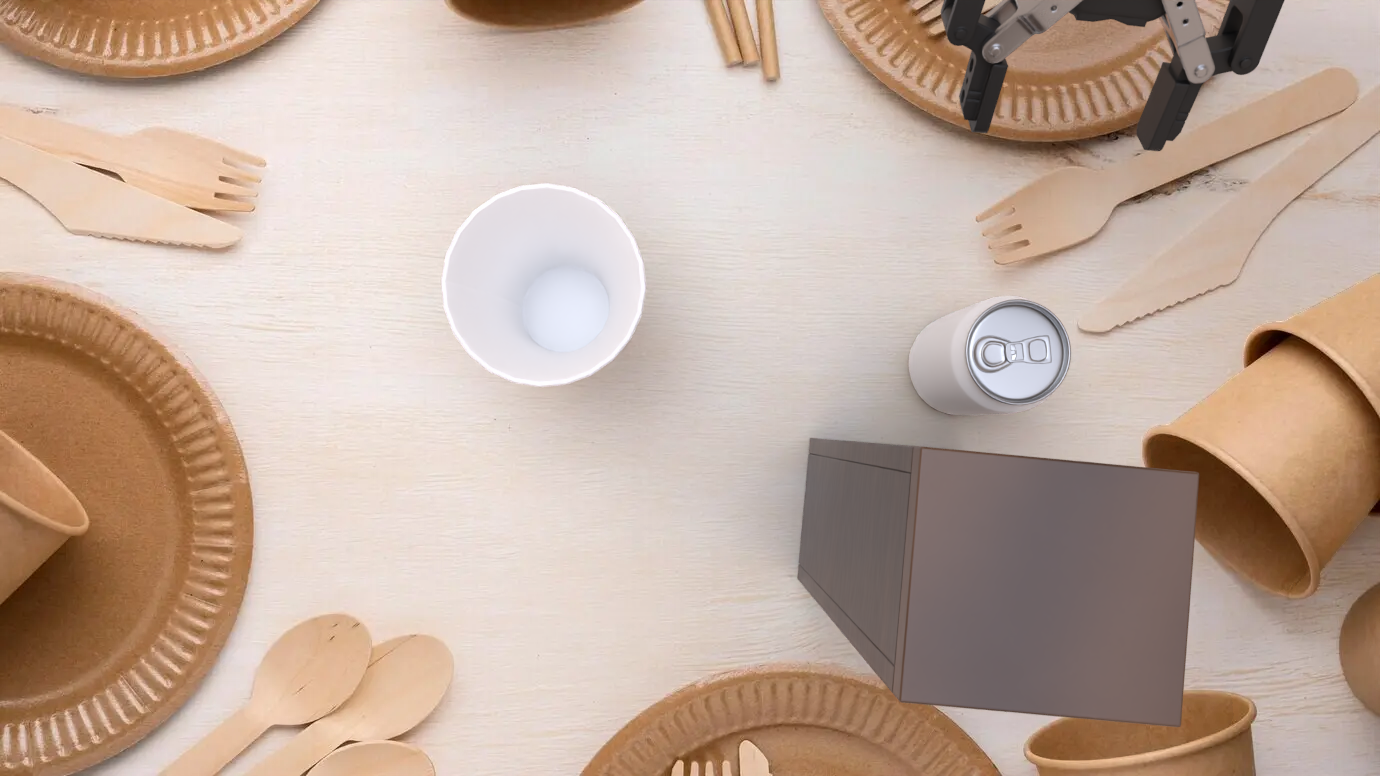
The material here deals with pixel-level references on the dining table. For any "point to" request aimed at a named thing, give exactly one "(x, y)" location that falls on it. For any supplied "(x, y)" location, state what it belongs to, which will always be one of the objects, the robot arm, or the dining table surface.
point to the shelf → (1046, 586)
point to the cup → (543, 285)
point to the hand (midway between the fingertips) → (1062, 134)
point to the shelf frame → (857, 541)
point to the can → (990, 358)
